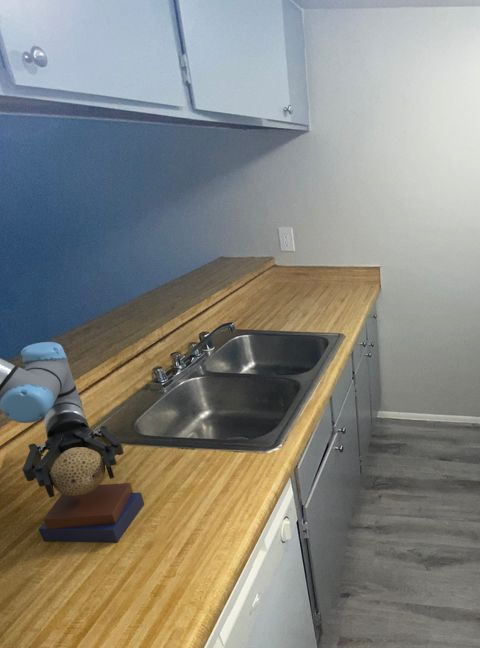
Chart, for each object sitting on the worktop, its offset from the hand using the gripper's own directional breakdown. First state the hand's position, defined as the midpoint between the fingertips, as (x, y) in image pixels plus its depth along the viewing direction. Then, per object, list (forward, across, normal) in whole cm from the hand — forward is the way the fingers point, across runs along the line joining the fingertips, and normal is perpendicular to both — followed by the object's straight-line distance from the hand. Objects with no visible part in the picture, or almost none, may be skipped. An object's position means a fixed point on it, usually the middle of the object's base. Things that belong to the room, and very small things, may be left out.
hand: (81, 481), depth 86 cm
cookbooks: (-5, 0, -13) cm, 14 cm away
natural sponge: (-5, 0, -6) cm, 8 cm away
